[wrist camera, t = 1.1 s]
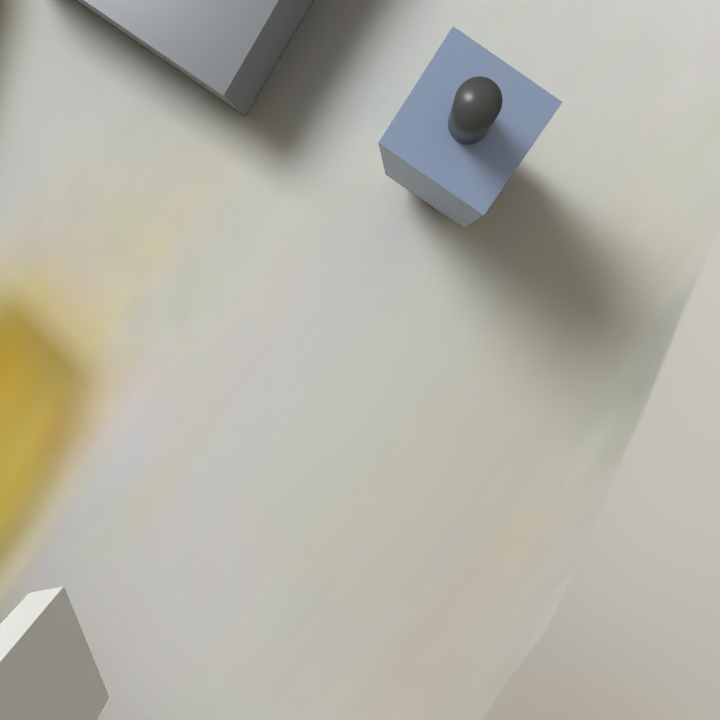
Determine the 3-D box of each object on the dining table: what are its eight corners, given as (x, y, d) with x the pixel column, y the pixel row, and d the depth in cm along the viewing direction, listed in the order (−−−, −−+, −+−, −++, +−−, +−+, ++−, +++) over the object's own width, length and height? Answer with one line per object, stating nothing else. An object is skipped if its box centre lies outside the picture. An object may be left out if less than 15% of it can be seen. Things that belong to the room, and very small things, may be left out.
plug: (386, 179, 33) (374, 125, 20) (438, 99, 32) (460, -11, 19) (460, 230, 33) (495, 208, 20) (514, 151, 32) (585, 77, 20)
